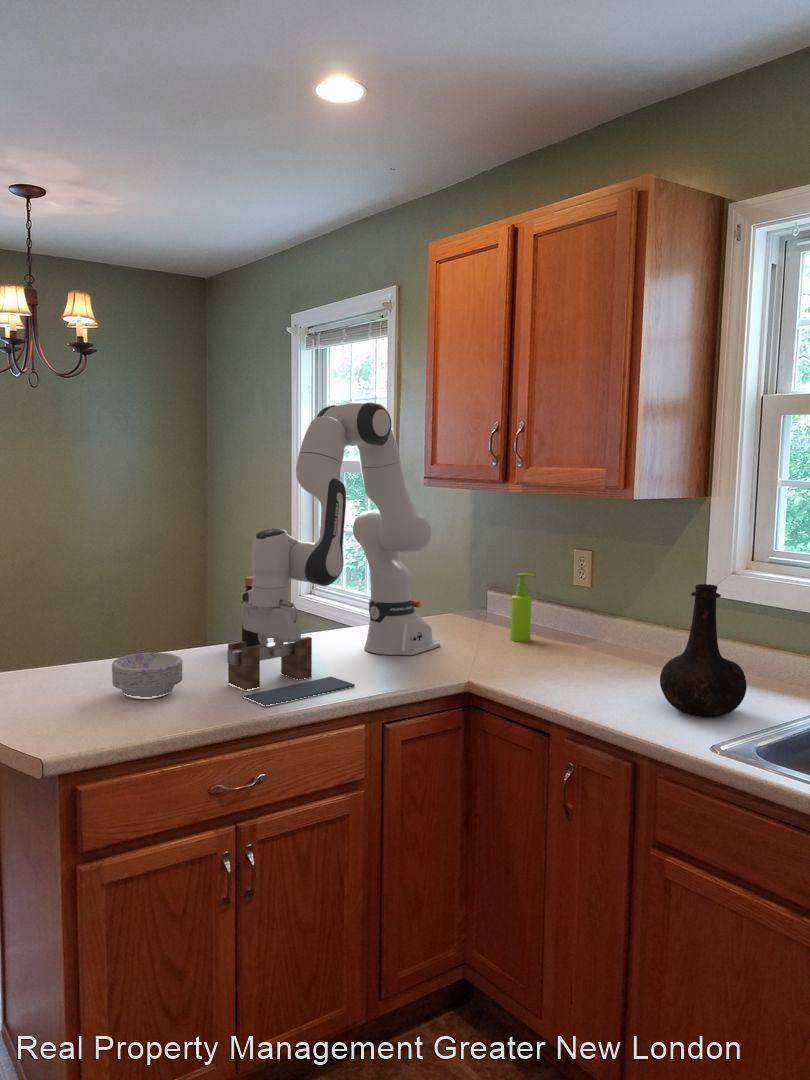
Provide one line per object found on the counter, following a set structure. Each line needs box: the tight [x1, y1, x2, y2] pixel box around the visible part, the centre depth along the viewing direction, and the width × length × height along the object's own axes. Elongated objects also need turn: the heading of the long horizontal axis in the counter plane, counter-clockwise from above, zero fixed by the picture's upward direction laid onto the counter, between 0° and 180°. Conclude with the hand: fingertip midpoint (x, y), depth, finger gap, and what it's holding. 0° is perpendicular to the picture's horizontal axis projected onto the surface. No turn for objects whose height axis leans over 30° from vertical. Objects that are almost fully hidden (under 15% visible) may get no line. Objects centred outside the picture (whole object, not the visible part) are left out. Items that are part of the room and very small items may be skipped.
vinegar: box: [241, 575, 260, 647], centre depth 233 cm, size 7×7×20 cm
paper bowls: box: [111, 652, 184, 697], centre depth 188 cm, size 15×15×8 cm
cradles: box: [227, 636, 313, 690], centre depth 200 cm, size 19×7×10 cm, turn 133°
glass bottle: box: [659, 583, 747, 719], centre depth 180 cm, size 18×18×28 cm
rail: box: [226, 636, 304, 665], centre depth 200 cm, size 22×3×3 cm, turn 133°
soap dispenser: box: [509, 572, 536, 643], centre depth 249 cm, size 6×7×20 cm
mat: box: [242, 676, 356, 706], centre depth 192 cm, size 25×9×1 cm, turn 133°
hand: (270, 654), depth 200 cm, fingers closed on rail, 3 cm apart
